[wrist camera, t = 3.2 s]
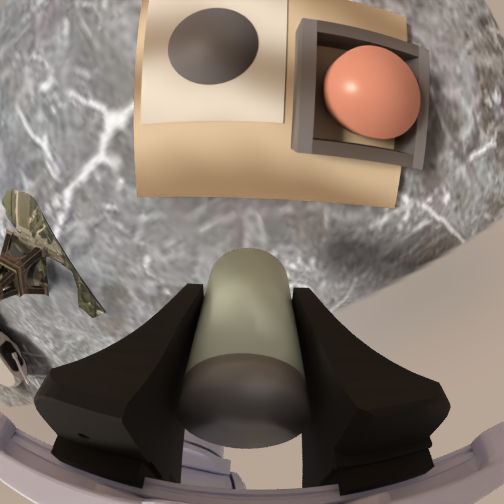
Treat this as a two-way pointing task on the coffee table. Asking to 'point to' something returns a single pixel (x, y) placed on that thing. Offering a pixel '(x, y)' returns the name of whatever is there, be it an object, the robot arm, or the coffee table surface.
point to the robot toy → (11, 363)
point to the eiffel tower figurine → (33, 253)
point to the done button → (371, 93)
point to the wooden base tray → (263, 102)
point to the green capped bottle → (245, 358)
